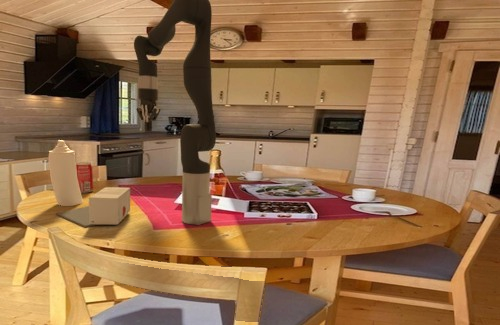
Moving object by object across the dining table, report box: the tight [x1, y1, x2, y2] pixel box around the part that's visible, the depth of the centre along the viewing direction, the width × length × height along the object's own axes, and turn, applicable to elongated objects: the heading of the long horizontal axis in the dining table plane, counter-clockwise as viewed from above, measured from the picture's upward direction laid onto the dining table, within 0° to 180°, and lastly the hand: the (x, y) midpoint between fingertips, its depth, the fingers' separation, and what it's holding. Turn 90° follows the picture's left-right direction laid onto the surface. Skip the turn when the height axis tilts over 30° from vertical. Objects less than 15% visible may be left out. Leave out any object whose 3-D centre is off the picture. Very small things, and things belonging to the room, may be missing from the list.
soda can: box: [76, 161, 94, 194], centre depth 144 cm, size 7×7×13 cm
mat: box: [55, 205, 127, 228], centre depth 111 cm, size 20×14×1 cm
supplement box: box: [88, 186, 131, 225], centre depth 108 cm, size 9×9×15 cm
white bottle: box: [48, 139, 84, 207], centre depth 123 cm, size 12×11×25 cm
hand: (148, 131), depth 131 cm, fingers closed
